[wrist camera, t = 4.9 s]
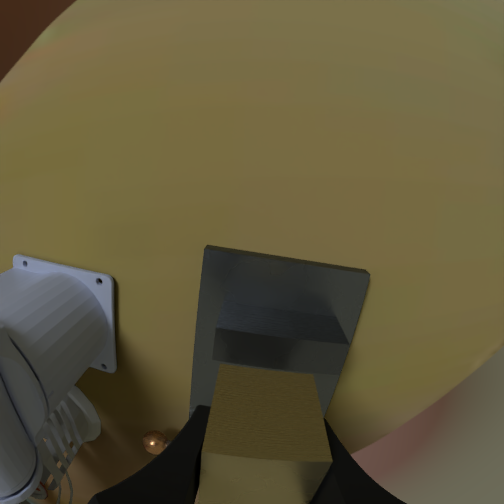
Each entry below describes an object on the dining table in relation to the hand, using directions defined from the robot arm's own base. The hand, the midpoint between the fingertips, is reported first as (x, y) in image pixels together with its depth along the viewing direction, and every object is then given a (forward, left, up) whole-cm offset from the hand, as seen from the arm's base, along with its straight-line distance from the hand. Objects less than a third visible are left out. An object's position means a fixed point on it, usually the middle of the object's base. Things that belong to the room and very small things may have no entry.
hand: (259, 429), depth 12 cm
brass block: (0, 0, -2) cm, 2 cm away
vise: (+1, -3, -9) cm, 9 cm away
